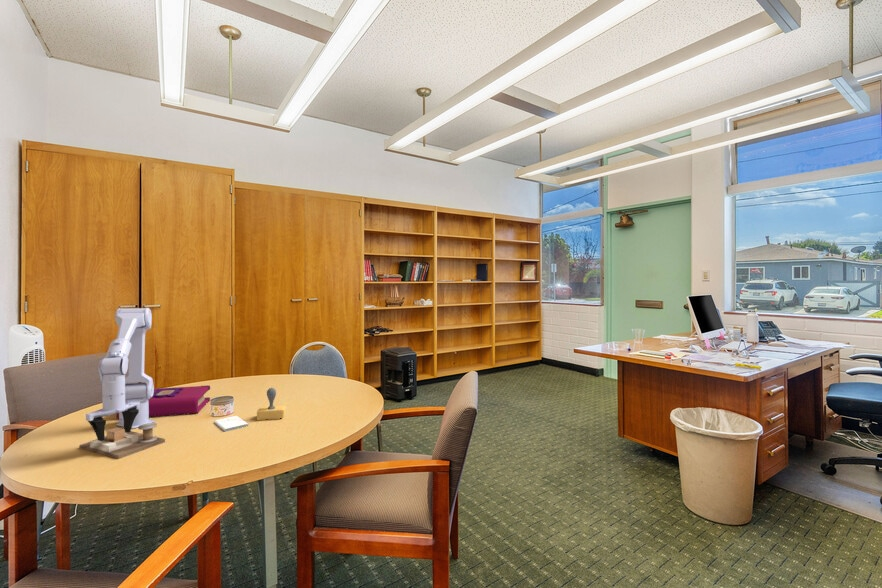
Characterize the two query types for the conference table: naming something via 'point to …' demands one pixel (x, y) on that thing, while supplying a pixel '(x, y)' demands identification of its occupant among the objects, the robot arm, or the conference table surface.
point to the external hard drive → (230, 423)
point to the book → (177, 401)
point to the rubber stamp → (271, 408)
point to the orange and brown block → (115, 434)
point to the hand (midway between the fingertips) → (114, 435)
